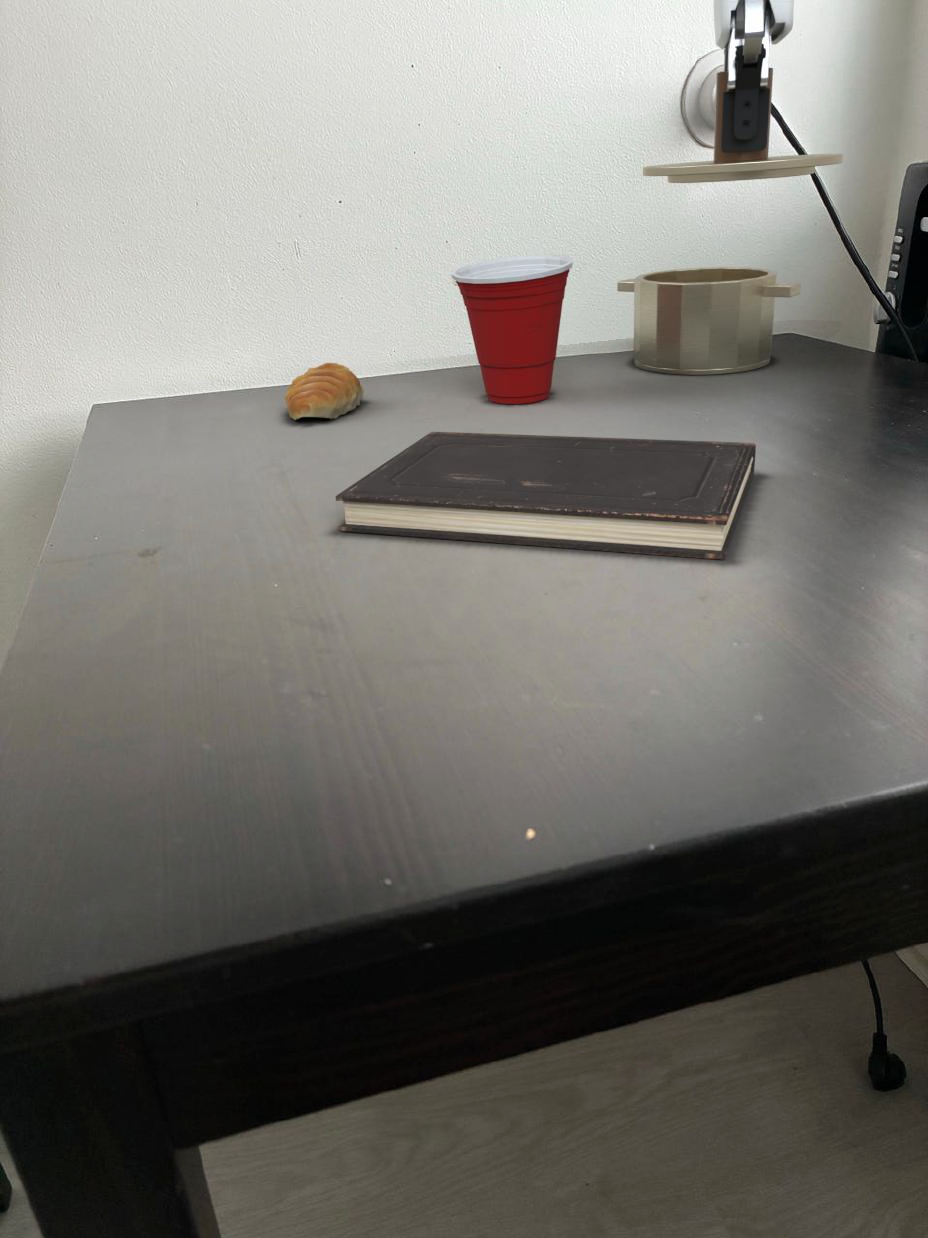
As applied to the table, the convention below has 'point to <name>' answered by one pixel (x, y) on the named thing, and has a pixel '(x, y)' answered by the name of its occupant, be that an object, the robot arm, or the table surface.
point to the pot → (704, 319)
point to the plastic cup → (515, 322)
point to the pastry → (324, 392)
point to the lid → (740, 156)
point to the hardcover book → (559, 492)
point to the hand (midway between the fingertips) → (741, 148)
